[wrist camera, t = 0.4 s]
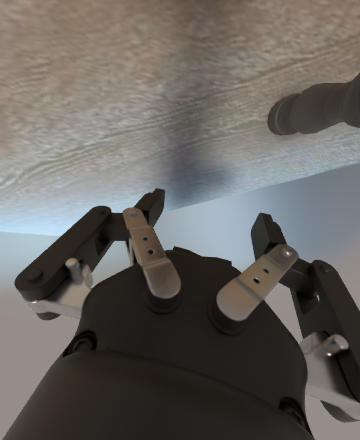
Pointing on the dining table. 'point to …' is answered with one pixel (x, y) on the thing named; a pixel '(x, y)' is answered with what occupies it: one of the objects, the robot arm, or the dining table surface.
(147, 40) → the dining table surface
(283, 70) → the dining table surface
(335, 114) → the candle holder
